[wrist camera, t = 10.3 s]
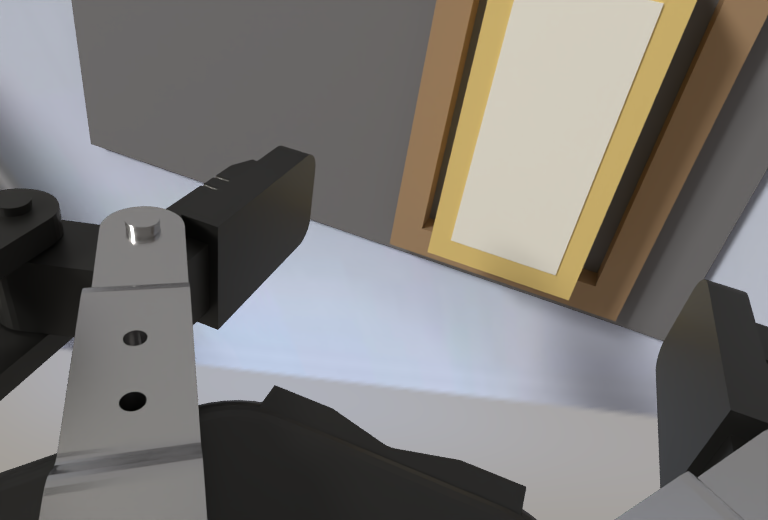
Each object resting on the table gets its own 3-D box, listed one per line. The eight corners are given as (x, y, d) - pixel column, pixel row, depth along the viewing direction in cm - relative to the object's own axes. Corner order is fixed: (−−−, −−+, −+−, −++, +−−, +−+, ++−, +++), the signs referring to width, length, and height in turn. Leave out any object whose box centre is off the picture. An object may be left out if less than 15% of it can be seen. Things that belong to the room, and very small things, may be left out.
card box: (529, -76, 18) (503, -70, 15) (697, -41, 17) (708, -26, 14) (456, 204, 24) (426, 253, 21) (579, 243, 23) (568, 301, 20)
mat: (98, 140, 30) (75, 150, 29) (44, -280, 21) (8, -290, 20) (666, 334, 24) (668, 357, 23) (934, -135, 15) (959, -137, 14)
